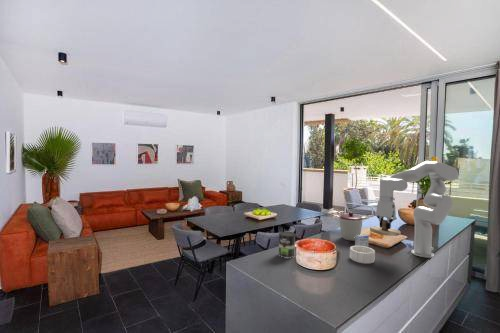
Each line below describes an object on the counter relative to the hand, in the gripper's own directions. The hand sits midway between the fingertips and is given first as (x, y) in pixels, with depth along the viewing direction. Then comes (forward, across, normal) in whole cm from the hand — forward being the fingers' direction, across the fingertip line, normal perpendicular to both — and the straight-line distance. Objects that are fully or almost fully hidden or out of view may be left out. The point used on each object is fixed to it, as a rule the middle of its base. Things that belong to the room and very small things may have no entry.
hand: (384, 227), depth 163 cm
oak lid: (+2, 0, 0) cm, 2 cm away
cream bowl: (+20, +7, +12) cm, 24 cm away
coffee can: (+21, +34, +50) cm, 64 cm away
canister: (+20, +38, -15) cm, 45 cm away
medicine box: (+20, +20, -6) cm, 29 cm away
